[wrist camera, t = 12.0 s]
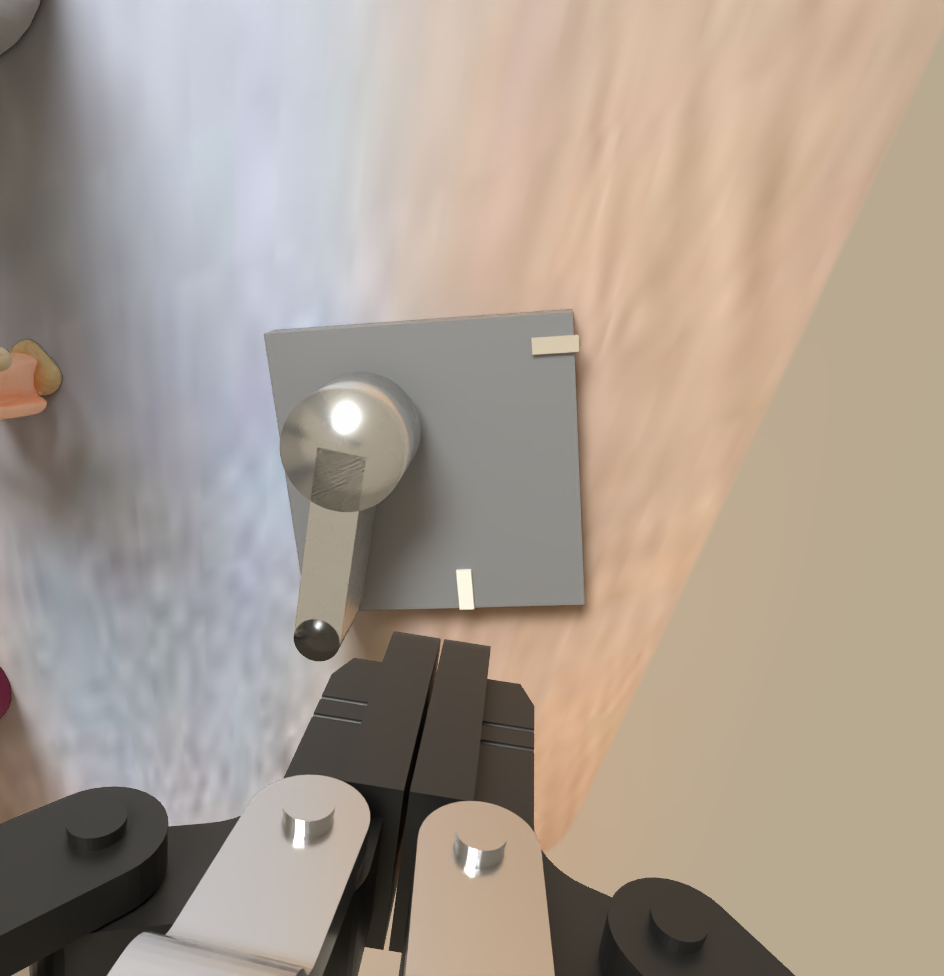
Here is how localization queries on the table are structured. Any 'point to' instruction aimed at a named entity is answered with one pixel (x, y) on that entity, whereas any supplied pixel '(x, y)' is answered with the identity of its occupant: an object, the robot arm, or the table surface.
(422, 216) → the table surface
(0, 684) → the cup
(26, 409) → the grandmother figurine
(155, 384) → the table surface
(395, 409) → the lever
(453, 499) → the base
